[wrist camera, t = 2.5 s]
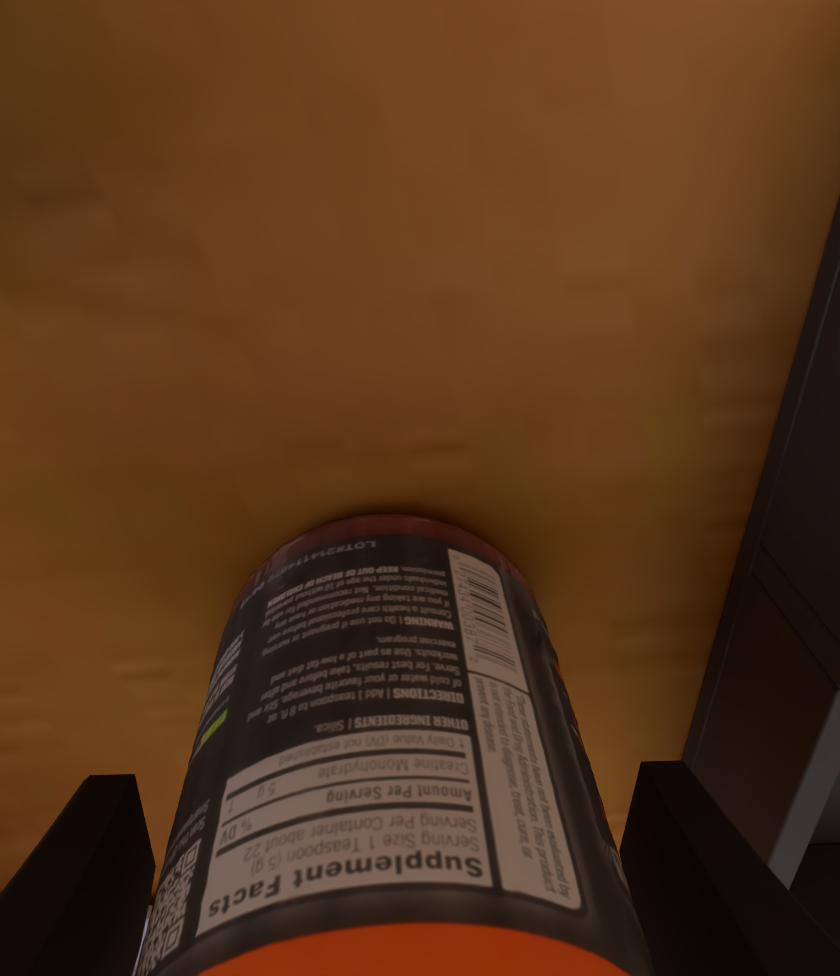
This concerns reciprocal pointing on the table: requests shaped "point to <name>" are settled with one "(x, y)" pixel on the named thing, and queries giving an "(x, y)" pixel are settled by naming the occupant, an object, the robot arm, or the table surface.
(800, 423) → the box
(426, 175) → the table surface
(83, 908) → the robot arm
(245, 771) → the supplement bottle
